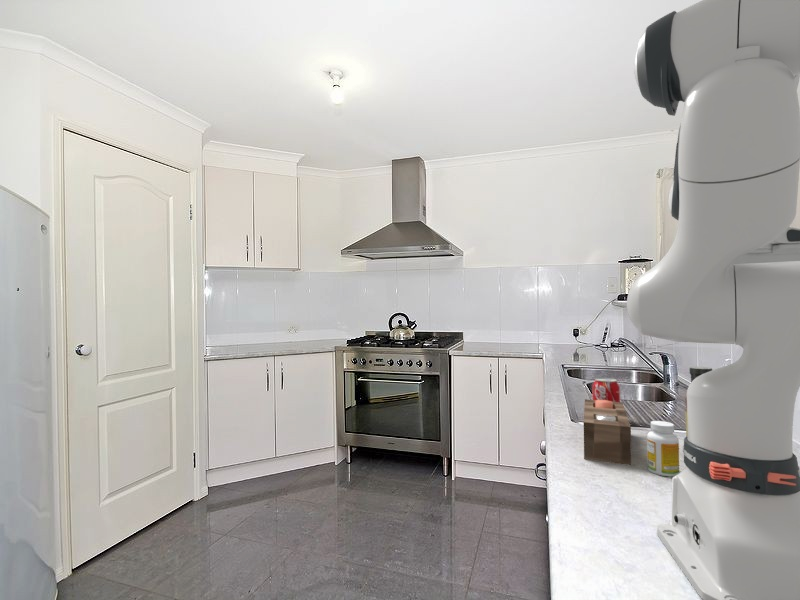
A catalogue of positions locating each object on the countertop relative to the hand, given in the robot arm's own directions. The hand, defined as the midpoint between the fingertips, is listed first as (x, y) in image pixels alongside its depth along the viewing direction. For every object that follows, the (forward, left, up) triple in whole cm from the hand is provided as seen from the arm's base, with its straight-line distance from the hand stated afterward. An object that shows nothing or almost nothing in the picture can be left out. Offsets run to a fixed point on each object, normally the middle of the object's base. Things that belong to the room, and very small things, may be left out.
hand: (752, 306), depth 83 cm
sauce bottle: (+3, +8, -33) cm, 34 cm away
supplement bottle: (-8, +17, -33) cm, 38 cm away
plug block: (+5, +27, -33) cm, 43 cm away
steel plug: (-1, +27, -32) cm, 42 cm away
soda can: (+28, +26, -33) cm, 51 cm away
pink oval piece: (+11, +27, -31) cm, 43 cm away
